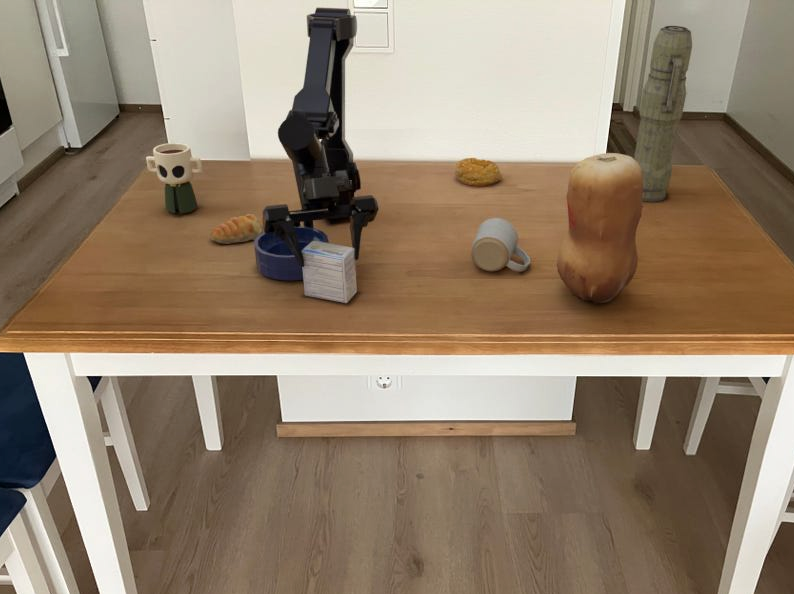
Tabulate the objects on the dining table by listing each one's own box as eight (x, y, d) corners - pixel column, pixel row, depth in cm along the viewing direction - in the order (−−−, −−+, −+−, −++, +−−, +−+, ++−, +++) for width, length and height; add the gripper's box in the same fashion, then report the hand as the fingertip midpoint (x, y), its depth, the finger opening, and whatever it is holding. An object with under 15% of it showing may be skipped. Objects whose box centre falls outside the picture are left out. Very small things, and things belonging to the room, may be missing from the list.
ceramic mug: (468, 271, 141) (470, 232, 136) (476, 252, 147) (479, 214, 143) (526, 279, 139) (530, 240, 135) (532, 259, 146) (536, 222, 141)
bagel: (502, 188, 175) (503, 168, 172) (453, 187, 175) (454, 166, 172) (500, 172, 183) (501, 153, 181) (454, 171, 183) (454, 151, 181)
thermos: (655, 183, 180) (684, 22, 160) (675, 203, 170) (709, 34, 151) (618, 184, 179) (644, 22, 159) (636, 204, 169) (665, 34, 150)
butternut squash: (550, 277, 140) (566, 140, 126) (624, 280, 140) (648, 143, 126) (557, 316, 128) (575, 170, 114) (638, 319, 128) (666, 174, 114)
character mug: (150, 216, 157) (137, 153, 150) (160, 202, 163) (149, 141, 156) (204, 217, 158) (194, 155, 150) (212, 203, 163) (203, 143, 156)
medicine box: (357, 292, 133) (355, 247, 128) (346, 305, 130) (344, 258, 125) (316, 284, 135) (312, 239, 130) (304, 296, 132) (300, 250, 127)
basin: (312, 245, 148) (310, 220, 146) (341, 272, 139) (340, 247, 136) (247, 259, 143) (243, 234, 140) (272, 289, 133) (269, 263, 131)
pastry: (220, 249, 146) (217, 230, 143) (205, 237, 150) (202, 219, 148) (265, 237, 151) (263, 219, 148) (249, 225, 155) (247, 207, 153)
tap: (305, 242, 149) (301, 200, 144) (322, 244, 149) (319, 202, 144) (289, 259, 143) (285, 215, 138) (308, 261, 143) (304, 218, 138)
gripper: (257, 158, 120) (275, 253, 117) (374, 147, 125) (394, 238, 123) (255, 188, 130) (272, 276, 128) (363, 177, 136) (381, 261, 133)
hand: (330, 262), depth 128 cm, fingers open, 9 cm apart
